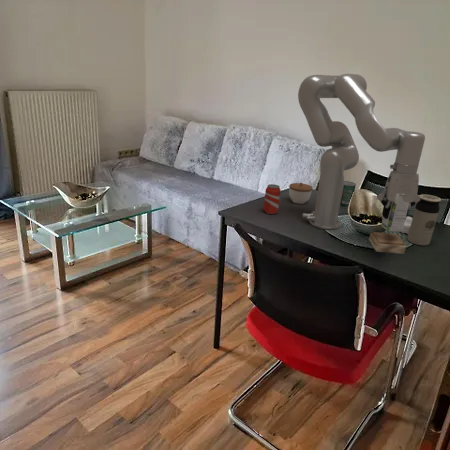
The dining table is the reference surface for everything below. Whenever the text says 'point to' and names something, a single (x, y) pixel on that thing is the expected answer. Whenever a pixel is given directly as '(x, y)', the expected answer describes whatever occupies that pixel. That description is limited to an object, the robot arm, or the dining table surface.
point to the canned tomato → (347, 193)
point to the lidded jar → (300, 192)
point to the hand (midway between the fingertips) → (394, 217)
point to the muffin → (407, 225)
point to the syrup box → (396, 215)
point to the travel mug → (424, 220)
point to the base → (387, 242)
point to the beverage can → (272, 199)
